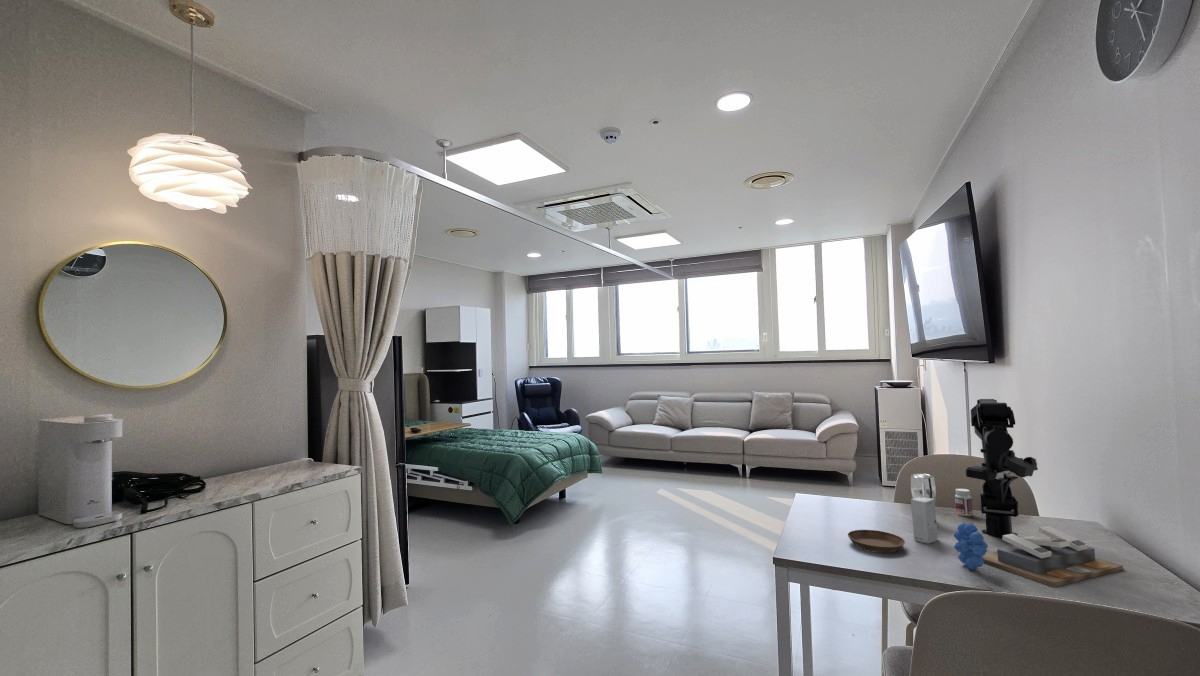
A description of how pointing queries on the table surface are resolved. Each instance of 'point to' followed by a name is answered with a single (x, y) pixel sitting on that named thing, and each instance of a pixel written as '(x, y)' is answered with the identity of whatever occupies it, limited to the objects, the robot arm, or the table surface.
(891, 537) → the saucer
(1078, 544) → the rocker
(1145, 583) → the table surface
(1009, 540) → the rocker
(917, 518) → the skincare box
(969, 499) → the pill bottle
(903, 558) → the table surface
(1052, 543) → the rocker middle
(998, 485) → the robot arm
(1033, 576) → the switch panel
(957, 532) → the grapes
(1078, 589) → the table surface
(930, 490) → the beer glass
